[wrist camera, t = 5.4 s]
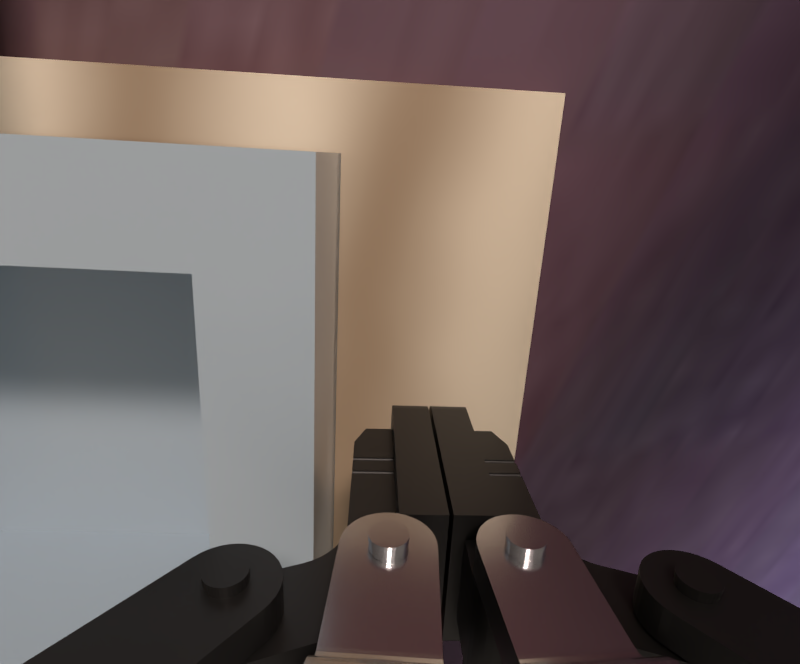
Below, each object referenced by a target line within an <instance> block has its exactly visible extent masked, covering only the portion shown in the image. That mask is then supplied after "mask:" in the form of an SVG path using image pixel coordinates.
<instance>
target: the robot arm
mask: <svg viewBox="0 0 800 664" xmlns="http://www.w3.org/2000/svg"><path fill="white" fill-rule="evenodd" d="M442 641H460V643H461V649H462V654H463V663H462V664H800V608H798V607H796V606H795V605H793V604H791V603H789V602H787V601H785V600H783V599H782V598H780V597H778V596H776V595H774V594H772V593H770V592H769V591H767V590H765V589H763V588H761V587H759V586H757V585H756V584H754V583H752V582H750V581H748V580H746V579H744V578H743V577H741V576H739V575H737V574H735V573H733V572H731V571H730V570H728V569H726V568H724V567H722V566H720V565H718V564H717V563H714V562H712V561H710V560H708V559H706V558H703V557H701V556H698V555H695V554H691V553H688V552H683V551H675V550H662V551H656V552H653V553H651V554H649V555H647V556H646V557H645V558H644V559H643V560H642V561H641V564H640V567H639V571H638V575H636V574H632V573H628V572H624V571H620V570H616V569H612V568H608V567H603V566H600V565H596V564H593V563H590V562H587V561H585V560H582V559H581V558H580V556H579V554H578V553H577V551H576V549H575V548H574V546H573V545H572V543H571V542H570V540H569V539H568V538H567V537H566V536H565V535H564V534H563V533H562V532H561V531H560V530H558V529H557V528H556V527H554V526H552V525H551V524H549V523H547V522H545V521H543V520H541V519H540V516H539V514H538V512H537V510H536V507H535V505H534V503H533V501H532V498H531V496H530V494H529V492H528V489H527V487H526V485H525V483H524V481H523V478H522V477H520V472H519V469H518V467H517V465H516V463H514V458H513V456H512V454H511V452H510V449H509V447H508V445H507V444H506V443H505V442H504V441H502V440H501V439H500V438H499V437H498V436H496V435H495V434H494V433H493V432H492V431H474V429H473V426H472V423H471V421H470V418H469V415H468V412H467V409H466V407H446V406H430V407H429V410H428V406H402V405H392V414H391V429H365V430H364V431H363V432H362V434H361V435H360V436H359V437H358V438H357V439H356V440H355V441H354V453H353V465H352V477H351V489H350V501H349V513H348V525H347V528H346V529H345V530H344V531H343V533H342V534H341V537H340V540H339V544H338V545H337V546H336V547H335V548H333V549H332V550H331V551H329V552H328V553H326V554H325V555H323V556H321V557H319V558H317V559H314V560H312V561H308V562H305V563H301V564H297V565H293V566H289V567H285V568H282V566H281V564H280V562H279V560H278V559H277V558H276V557H275V555H273V554H272V553H271V552H270V551H268V550H266V549H264V548H262V547H259V546H256V545H250V544H239V543H238V544H227V545H221V546H217V547H214V548H211V549H208V550H206V551H203V552H201V553H199V554H197V555H196V556H194V557H192V558H191V559H189V560H187V561H186V562H184V563H183V564H181V565H179V566H178V567H176V568H175V569H173V570H171V571H170V572H168V573H167V574H165V575H163V576H162V577H160V578H159V579H157V580H155V581H154V582H152V583H151V584H149V585H147V586H146V587H144V588H143V589H141V590H139V591H138V592H136V593H135V594H133V595H131V596H130V597H128V598H127V599H125V600H123V601H122V602H120V603H119V604H117V605H115V606H114V607H112V608H111V609H109V610H107V611H106V612H104V613H103V614H101V615H99V616H98V617H96V618H95V619H93V620H91V621H90V622H88V623H87V624H85V625H83V626H82V627H80V628H79V629H77V630H75V631H74V632H72V633H71V634H69V635H67V636H66V637H64V638H63V639H61V640H59V641H58V642H56V643H55V644H53V645H51V646H50V647H48V648H47V649H45V650H43V651H42V652H40V653H39V654H37V655H35V656H34V657H32V658H31V659H29V660H27V661H26V662H24V663H23V664H443V646H442Z"/></svg>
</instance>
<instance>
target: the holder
mask: <svg viewBox="0 0 800 664" xmlns="http://www.w3.org/2000/svg"><path fill="white" fill-rule="evenodd" d="M340 183H341V153H329V152H312V151H295V150H278V149H261V148H243V147H226V146H209V145H192V144H175V143H158V142H140V141H123V140H106V139H89V138H72V137H55V136H37V135H20V134H3V133H0V664H23V663H24V662H26V661H27V660H29V659H31V658H32V657H34V656H35V655H37V654H39V653H40V652H42V651H43V650H45V649H47V648H48V647H50V646H51V645H53V644H55V643H56V642H58V641H59V640H61V639H63V638H64V637H66V636H67V635H69V634H71V633H72V632H74V631H75V630H77V629H79V628H80V627H82V626H83V625H85V624H87V623H88V622H90V621H91V620H93V619H95V618H96V617H98V616H99V615H101V614H103V613H104V612H106V611H107V610H109V609H111V608H112V607H114V606H115V605H117V604H119V603H120V602H122V601H123V600H125V599H127V598H128V597H130V596H131V595H133V594H135V593H136V592H138V591H139V590H141V589H143V588H144V587H146V586H147V585H149V584H151V583H152V582H154V581H155V580H157V579H159V578H160V577H162V576H163V575H165V574H167V573H168V572H170V571H171V570H173V569H175V568H176V567H178V566H179V565H181V564H183V563H184V562H186V561H187V560H189V559H191V558H192V557H194V556H196V555H197V554H199V553H201V552H203V551H206V550H208V549H211V548H214V547H217V546H221V545H227V544H238V543H239V544H250V545H256V546H259V547H262V548H264V549H266V550H268V551H270V552H271V553H272V554H273V555H275V557H276V558H277V559H278V560H279V562H280V564H281V566H282V568H285V567H289V566H293V565H297V564H301V563H305V562H308V561H312V560H314V559H317V558H319V557H321V556H323V555H325V554H326V553H328V552H329V551H331V550H332V549H333V533H334V483H335V433H336V383H337V333H338V283H339V233H340Z"/></svg>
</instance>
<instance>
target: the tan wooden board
mask: <svg viewBox="0 0 800 664" xmlns="http://www.w3.org/2000/svg"><path fill="white" fill-rule="evenodd" d="M564 100H565V93H552V92H537V91H522V90H507V89H491V88H476V87H461V86H446V85H431V84H415V83H400V82H385V81H370V80H354V79H339V78H324V77H309V76H294V75H278V74H263V73H248V72H233V71H218V70H202V69H187V68H172V67H157V66H142V65H126V64H111V63H96V62H81V61H66V60H50V59H35V58H20V57H5V56H0V133H3V134H20V135H37V136H55V137H72V138H89V139H106V140H123V141H140V142H158V143H175V144H192V145H209V146H226V147H243V148H261V149H278V150H295V151H312V152H329V153H341V183H340V233H339V283H338V333H337V383H336V433H335V483H334V533H333V548H335V547H336V546H337V545H338V544H339V540H340V537H341V534H342V533H343V531H344V530H345V529H346V528H347V525H348V513H349V501H350V489H351V477H352V465H353V453H354V441H355V440H356V439H357V438H358V437H359V436H360V435H361V434H362V432H363V431H364V430H365V429H391V414H392V405H402V406H428V410H429V407H430V406H446V407H466V409H467V412H468V415H469V418H470V421H471V423H472V426H473V429H474V431H492V432H493V433H494V434H495V435H496V436H498V437H499V438H500V439H501V440H502V441H504V442H505V443H506V444H507V445H508V447H509V449H510V452H511V454H512V456H513V458H514V459H515V452H516V445H517V437H518V430H519V423H520V416H521V409H522V402H523V394H524V387H525V380H526V373H527V366H528V359H529V351H530V344H531V337H532V330H533V323H534V315H535V308H536V301H537V294H538V287H539V280H540V272H541V265H542V258H543V251H544V244H545V236H546V229H547V222H548V215H549V208H550V201H551V193H552V186H553V179H554V172H555V165H556V158H557V150H558V143H559V136H560V129H561V122H562V114H563V107H564Z"/></svg>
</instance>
